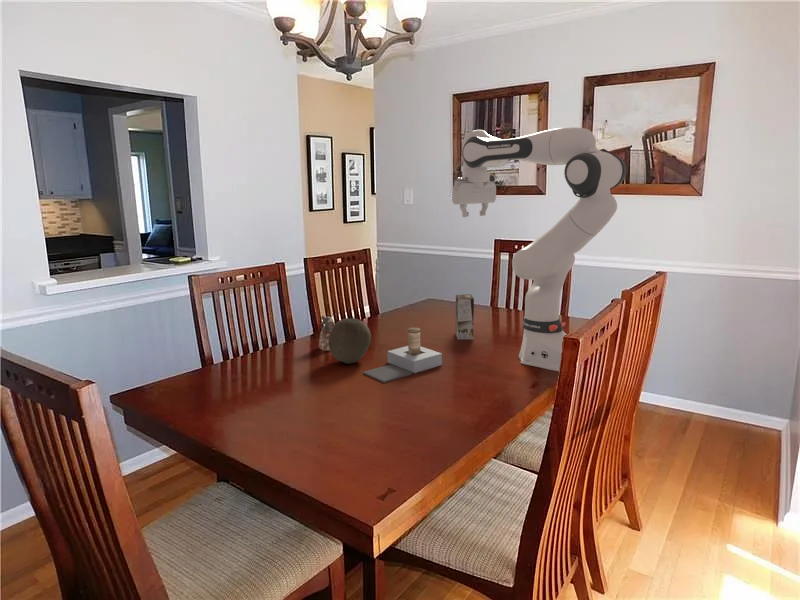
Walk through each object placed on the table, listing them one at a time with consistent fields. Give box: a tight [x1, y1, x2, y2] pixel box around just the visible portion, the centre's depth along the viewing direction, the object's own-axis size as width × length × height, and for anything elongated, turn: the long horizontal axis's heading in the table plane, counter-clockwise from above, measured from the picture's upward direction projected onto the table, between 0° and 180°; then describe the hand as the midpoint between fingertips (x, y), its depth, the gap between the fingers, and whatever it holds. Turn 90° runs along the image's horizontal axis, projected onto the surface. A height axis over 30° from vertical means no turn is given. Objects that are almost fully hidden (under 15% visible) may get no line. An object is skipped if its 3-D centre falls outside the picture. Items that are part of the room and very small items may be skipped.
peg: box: [407, 327, 421, 356], centre depth 178 cm, size 4×4×12 cm
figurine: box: [318, 315, 335, 351], centre depth 198 cm, size 7×7×12 cm
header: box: [386, 345, 443, 374], centre depth 179 cm, size 14×12×4 cm
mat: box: [362, 363, 413, 384], centre depth 170 cm, size 11×11×1 cm
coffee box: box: [455, 293, 475, 340], centre depth 209 cm, size 9×6×16 cm
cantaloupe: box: [329, 317, 372, 365], centre depth 181 cm, size 14×14×15 cm
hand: (474, 216), depth 196 cm, fingers open, 8 cm apart
